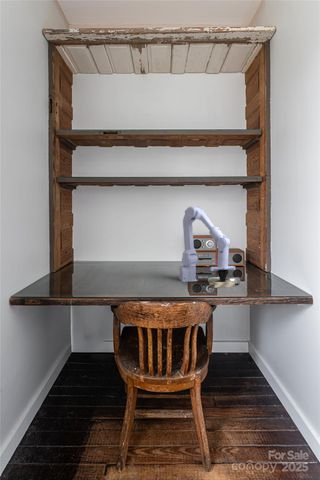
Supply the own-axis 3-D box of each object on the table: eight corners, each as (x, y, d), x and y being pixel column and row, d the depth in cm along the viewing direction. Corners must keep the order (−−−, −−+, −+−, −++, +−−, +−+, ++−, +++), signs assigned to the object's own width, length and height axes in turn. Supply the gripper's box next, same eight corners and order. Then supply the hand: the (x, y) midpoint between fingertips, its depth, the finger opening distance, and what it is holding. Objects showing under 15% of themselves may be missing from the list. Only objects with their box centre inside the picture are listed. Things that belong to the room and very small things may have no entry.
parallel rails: (214, 287, 170) (214, 283, 170) (209, 284, 177) (209, 280, 177) (234, 286, 173) (234, 281, 173) (228, 283, 180) (228, 279, 180)
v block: (211, 283, 179) (211, 279, 179) (207, 281, 183) (208, 277, 183) (224, 282, 181) (224, 278, 181) (220, 281, 186) (220, 276, 185)
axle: (226, 285, 174) (226, 278, 174) (222, 284, 178) (222, 277, 178) (240, 284, 176) (240, 277, 176) (236, 283, 180) (236, 276, 180)
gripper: (214, 260, 168) (213, 285, 169) (238, 259, 172) (237, 283, 173) (208, 258, 175) (208, 282, 176) (232, 257, 179) (231, 280, 180)
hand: (222, 282), depth 175 cm, fingers closed
